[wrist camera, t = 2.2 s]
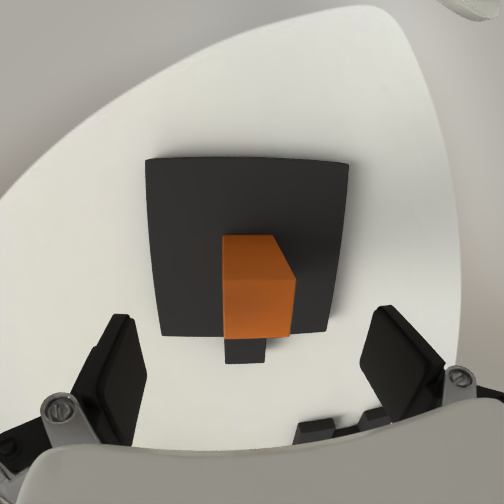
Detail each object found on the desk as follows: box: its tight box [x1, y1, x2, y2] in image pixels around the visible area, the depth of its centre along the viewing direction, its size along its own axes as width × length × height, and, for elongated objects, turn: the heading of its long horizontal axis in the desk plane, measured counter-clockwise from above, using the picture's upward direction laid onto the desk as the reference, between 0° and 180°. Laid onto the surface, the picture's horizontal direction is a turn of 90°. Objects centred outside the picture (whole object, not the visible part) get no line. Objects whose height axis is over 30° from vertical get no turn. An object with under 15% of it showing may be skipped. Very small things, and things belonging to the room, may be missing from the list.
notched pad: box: [292, 407, 391, 445], centre depth 29 cm, size 12×12×2 cm
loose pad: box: [145, 157, 349, 364], centre depth 16 cm, size 15×12×8 cm
